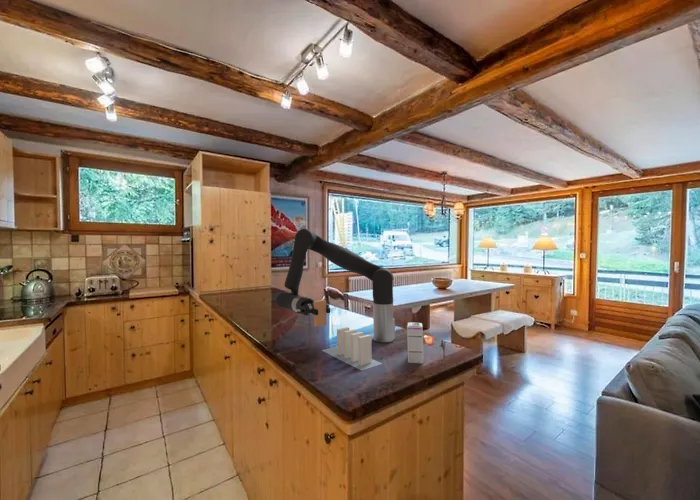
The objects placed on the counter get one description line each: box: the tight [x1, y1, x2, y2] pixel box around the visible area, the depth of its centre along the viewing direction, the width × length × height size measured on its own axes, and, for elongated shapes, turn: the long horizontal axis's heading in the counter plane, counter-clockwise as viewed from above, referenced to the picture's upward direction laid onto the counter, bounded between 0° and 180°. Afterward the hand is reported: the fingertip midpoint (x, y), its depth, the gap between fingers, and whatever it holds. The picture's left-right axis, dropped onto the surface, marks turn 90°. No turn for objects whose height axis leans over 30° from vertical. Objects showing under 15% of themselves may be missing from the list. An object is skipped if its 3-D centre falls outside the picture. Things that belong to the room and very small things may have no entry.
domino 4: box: [351, 331, 365, 362], centre depth 114 cm, size 5×2×10 cm, turn 127°
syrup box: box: [406, 321, 425, 364], centre depth 113 cm, size 6×6×14 cm
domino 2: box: [336, 326, 350, 355], centre depth 121 cm, size 5×2×10 cm, turn 127°
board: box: [321, 346, 383, 371], centre depth 118 cm, size 10×26×1 cm, turn 37°
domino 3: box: [344, 328, 357, 359], centre depth 118 cm, size 5×2×10 cm, turn 127°
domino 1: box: [313, 299, 327, 328], centre depth 123 cm, size 5×2×10 cm, turn 127°
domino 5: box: [358, 334, 373, 366], centre depth 110 cm, size 5×2×10 cm, turn 127°
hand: (323, 311), depth 121 cm, fingers closed on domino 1, 5 cm apart
